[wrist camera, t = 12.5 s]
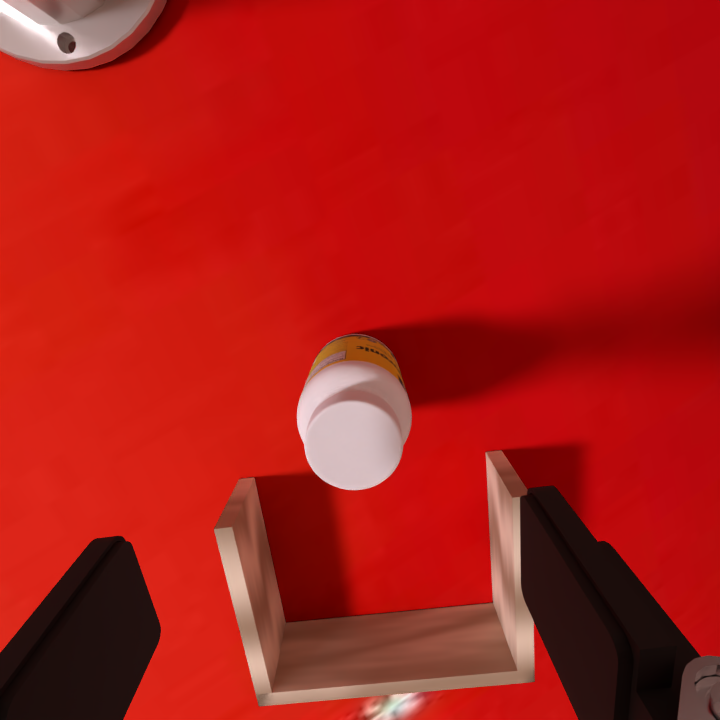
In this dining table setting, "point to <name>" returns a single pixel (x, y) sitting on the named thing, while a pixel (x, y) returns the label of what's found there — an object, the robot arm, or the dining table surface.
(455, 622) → the open-sided box
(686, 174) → the dining table surface
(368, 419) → the supplement bottle
